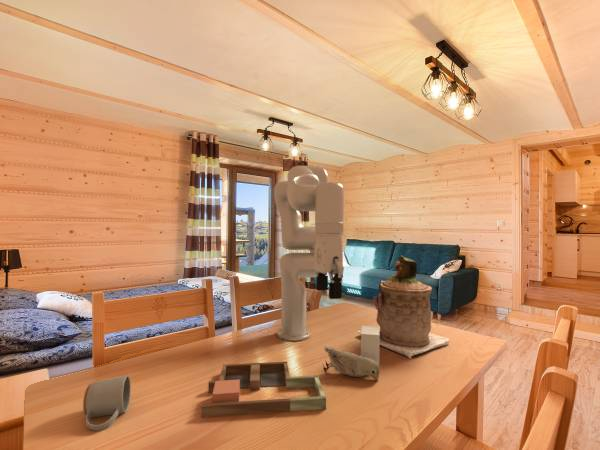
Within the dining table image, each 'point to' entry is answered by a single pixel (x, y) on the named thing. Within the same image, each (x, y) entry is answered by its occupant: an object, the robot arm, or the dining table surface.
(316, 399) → the trap run
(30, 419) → the dining table surface
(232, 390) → the block
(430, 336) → the cookie jar
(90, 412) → the ceramic mug
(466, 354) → the dining table surface
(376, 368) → the decorative bird
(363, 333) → the small box
